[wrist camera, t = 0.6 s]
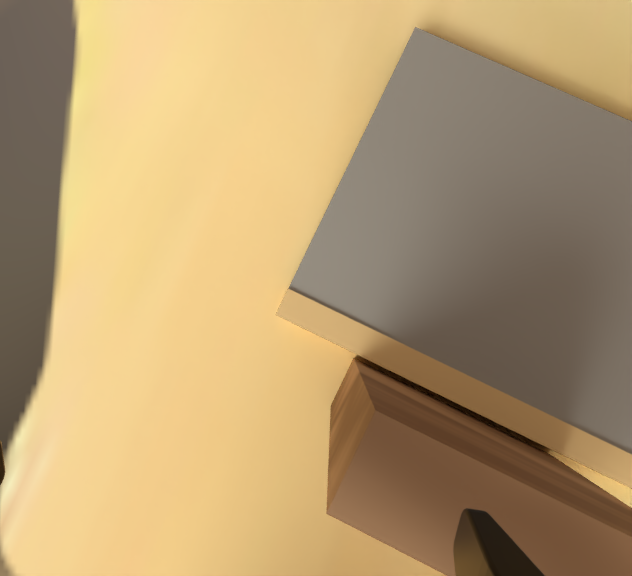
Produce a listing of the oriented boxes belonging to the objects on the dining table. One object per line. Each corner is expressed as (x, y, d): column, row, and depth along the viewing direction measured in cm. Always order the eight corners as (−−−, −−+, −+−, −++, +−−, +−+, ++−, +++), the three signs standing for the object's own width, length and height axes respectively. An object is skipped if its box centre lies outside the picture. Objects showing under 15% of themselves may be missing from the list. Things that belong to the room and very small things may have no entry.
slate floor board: (637, 489, 25) (654, 499, 24) (278, 314, 26) (275, 314, 25) (769, 196, 26) (794, 189, 24) (411, 39, 27) (416, 24, 26)
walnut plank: (526, 503, 25) (762, 737, 11) (330, 406, 26) (326, 513, 12) (548, 453, 25) (810, 625, 11) (353, 358, 26) (375, 410, 12)
